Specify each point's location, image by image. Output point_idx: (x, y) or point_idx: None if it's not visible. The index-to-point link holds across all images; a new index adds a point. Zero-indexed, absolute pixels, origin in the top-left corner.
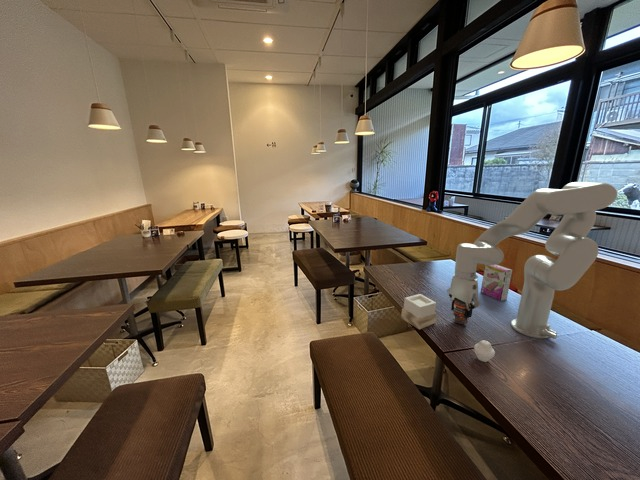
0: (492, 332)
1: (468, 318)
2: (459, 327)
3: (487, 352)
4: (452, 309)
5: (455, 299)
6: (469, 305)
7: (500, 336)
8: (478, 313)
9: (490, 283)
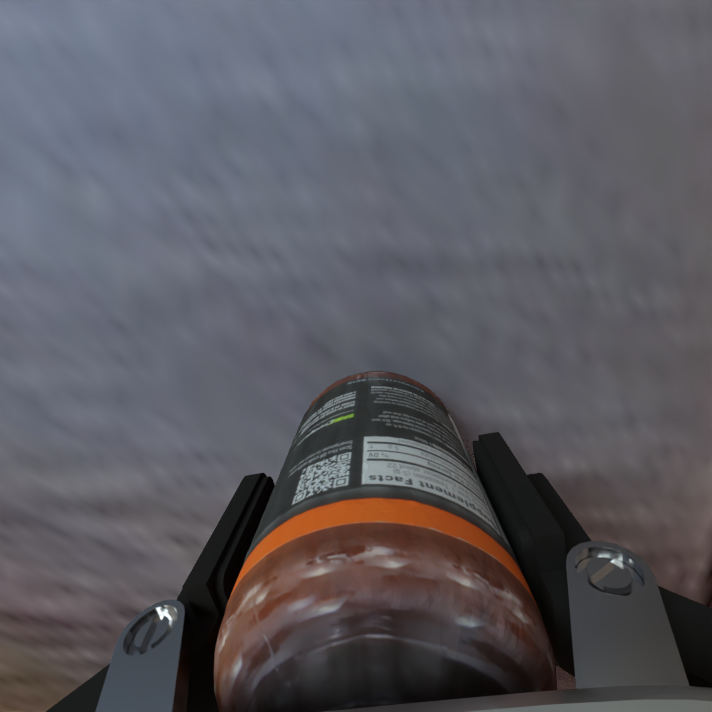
0: (601, 199)
1: (448, 418)
2: None
3: None
4: None
5: (191, 685)
6: (538, 618)
7: (690, 165)
8: (199, 45)
9: None
